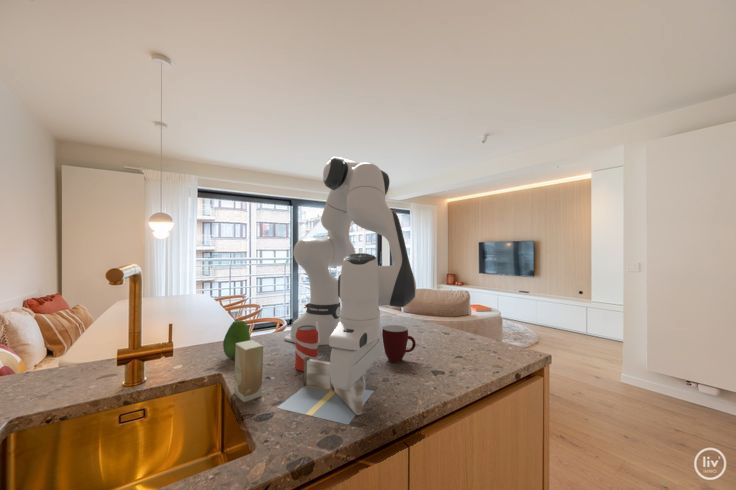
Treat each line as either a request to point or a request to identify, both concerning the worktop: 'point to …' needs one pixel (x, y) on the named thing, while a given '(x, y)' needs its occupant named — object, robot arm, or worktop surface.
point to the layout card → (322, 404)
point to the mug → (396, 342)
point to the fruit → (235, 337)
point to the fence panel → (352, 396)
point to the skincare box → (248, 370)
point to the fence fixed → (317, 373)
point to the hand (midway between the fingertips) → (360, 390)
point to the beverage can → (306, 345)
